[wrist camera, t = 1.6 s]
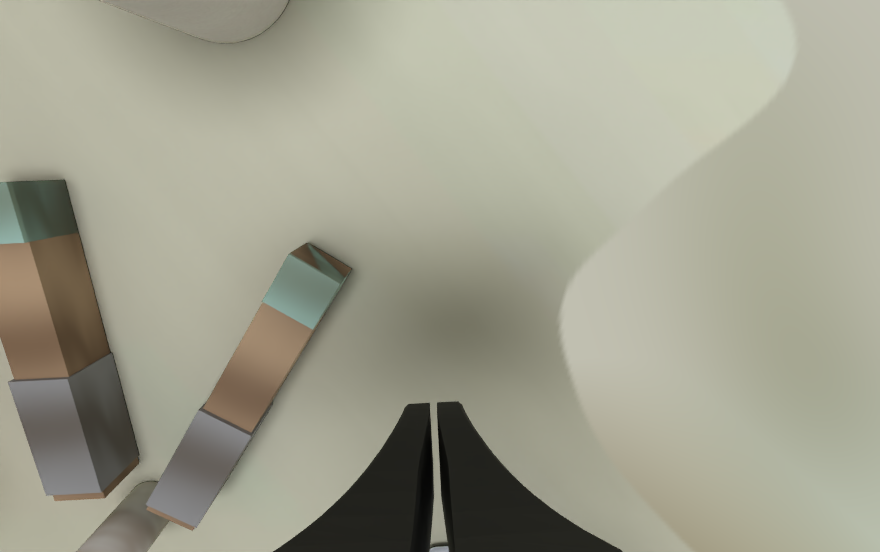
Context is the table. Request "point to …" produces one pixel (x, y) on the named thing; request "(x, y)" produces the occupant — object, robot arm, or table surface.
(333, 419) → the table surface
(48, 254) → the tongs fixed arm
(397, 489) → the robot arm
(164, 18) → the coffee cup
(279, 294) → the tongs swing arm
